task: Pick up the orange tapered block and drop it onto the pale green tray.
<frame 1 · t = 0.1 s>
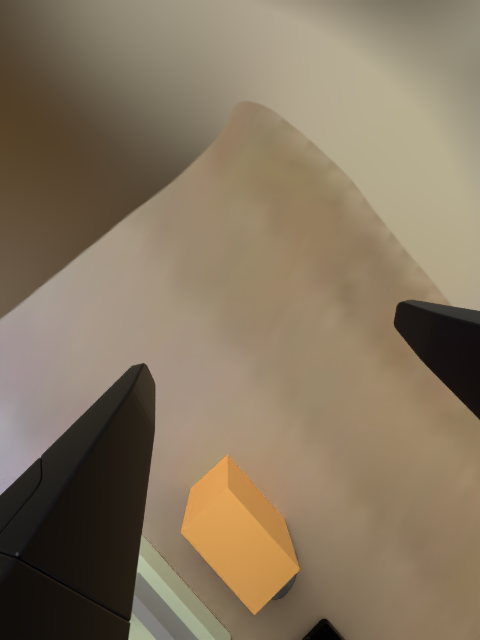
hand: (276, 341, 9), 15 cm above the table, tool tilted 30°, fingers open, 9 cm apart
pale green tray: (130, 630, 22), on the table
orange tapered block: (237, 502, 23), on the table
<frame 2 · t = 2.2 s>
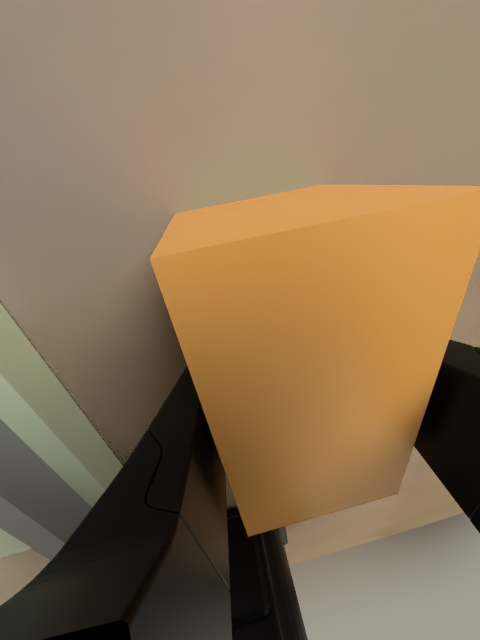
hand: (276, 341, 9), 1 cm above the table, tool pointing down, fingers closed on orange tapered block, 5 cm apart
orange tapered block: (264, 314, 9), on the table, touching gripper
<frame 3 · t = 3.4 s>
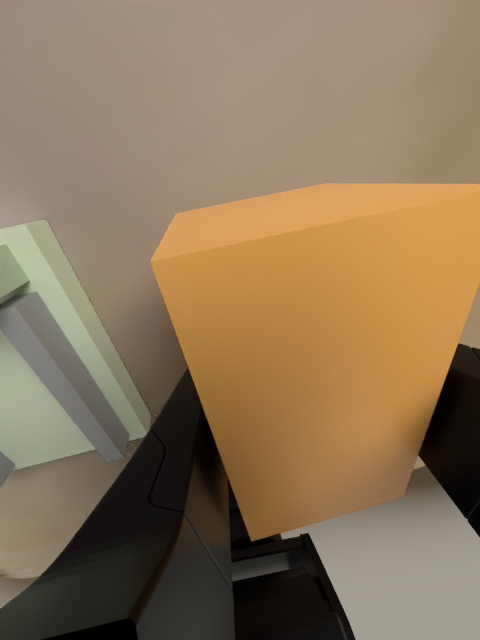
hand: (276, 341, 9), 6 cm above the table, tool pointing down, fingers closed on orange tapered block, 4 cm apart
pale green tray: (0, 367, 13), on the table
orange tapered block: (266, 315, 9), point 5 cm above the table, touching gripper
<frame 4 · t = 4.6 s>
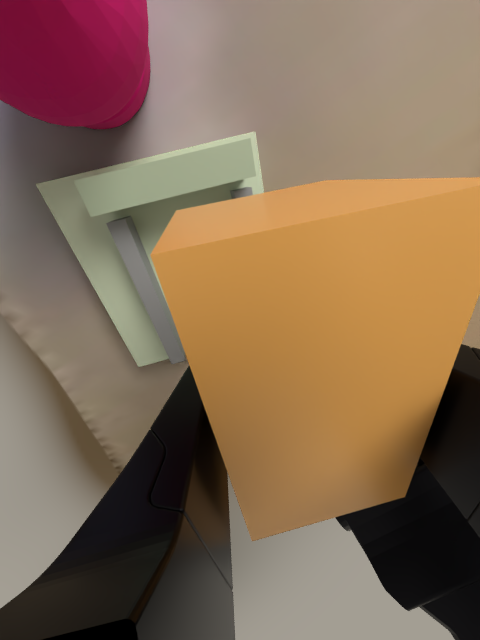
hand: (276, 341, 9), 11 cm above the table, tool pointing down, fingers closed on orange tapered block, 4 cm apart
pepper mill: (84, 51, 12), on the table
pale green tray: (186, 264, 18), on the table
orange tapered block: (267, 313, 9), point 10 cm above the table, touching gripper
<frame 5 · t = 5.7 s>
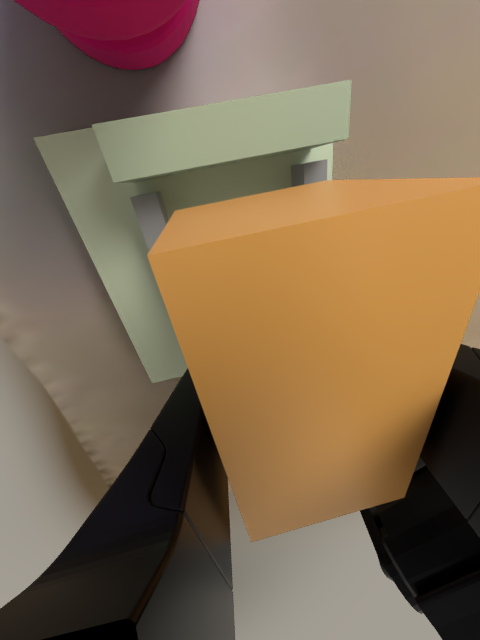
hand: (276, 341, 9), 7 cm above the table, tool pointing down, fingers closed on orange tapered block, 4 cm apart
pale green tray: (219, 260, 14), on the table
orange tapered block: (266, 313, 9), point 6 cm above the table, touching gripper
when the fingers open (4 cm above the table, at t = 6.8 s): orange tapered block drops 1 cm, resting on pale green tray.
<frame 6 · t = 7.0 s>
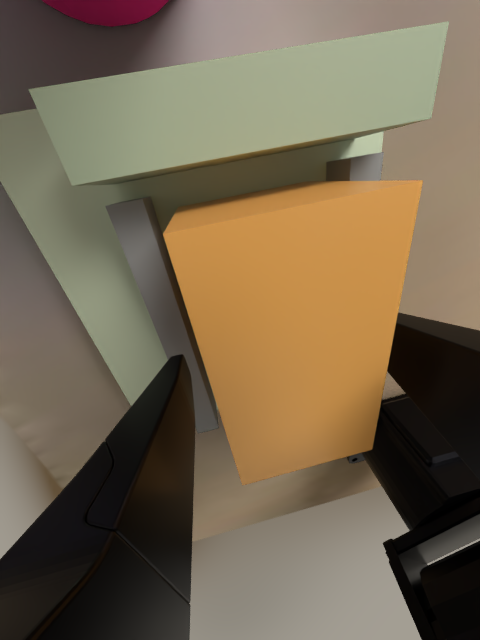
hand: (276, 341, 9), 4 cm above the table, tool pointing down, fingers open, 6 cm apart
pale green tray: (227, 281, 11), on the table
orange tapered block: (258, 298, 10), point 1 cm above the table, touching pale green tray
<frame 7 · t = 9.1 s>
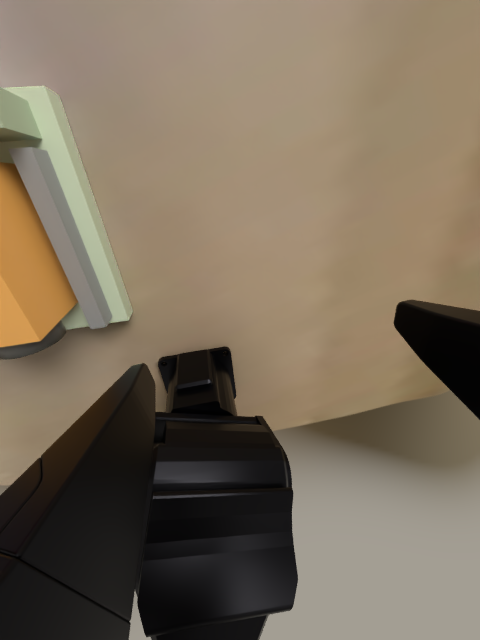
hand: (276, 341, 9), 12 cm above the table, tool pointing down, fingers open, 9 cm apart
pale green tray: (5, 235, 16), on the table
orange tapered block: (12, 246, 15), point 1 cm above the table, touching pale green tray
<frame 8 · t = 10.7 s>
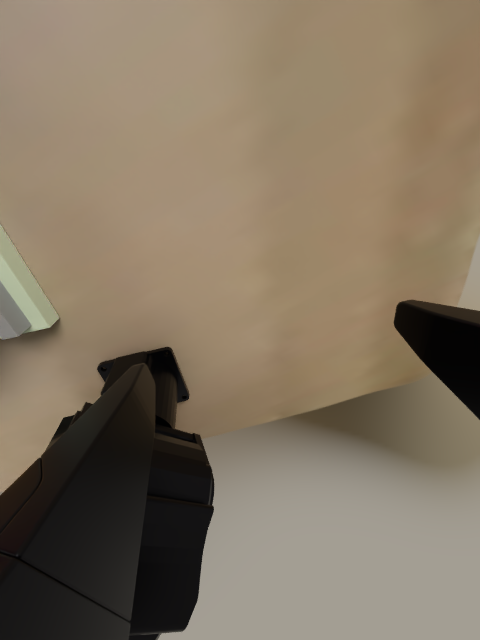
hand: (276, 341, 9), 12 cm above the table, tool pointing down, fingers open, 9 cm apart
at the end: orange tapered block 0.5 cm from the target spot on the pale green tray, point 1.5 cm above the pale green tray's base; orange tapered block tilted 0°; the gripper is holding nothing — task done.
